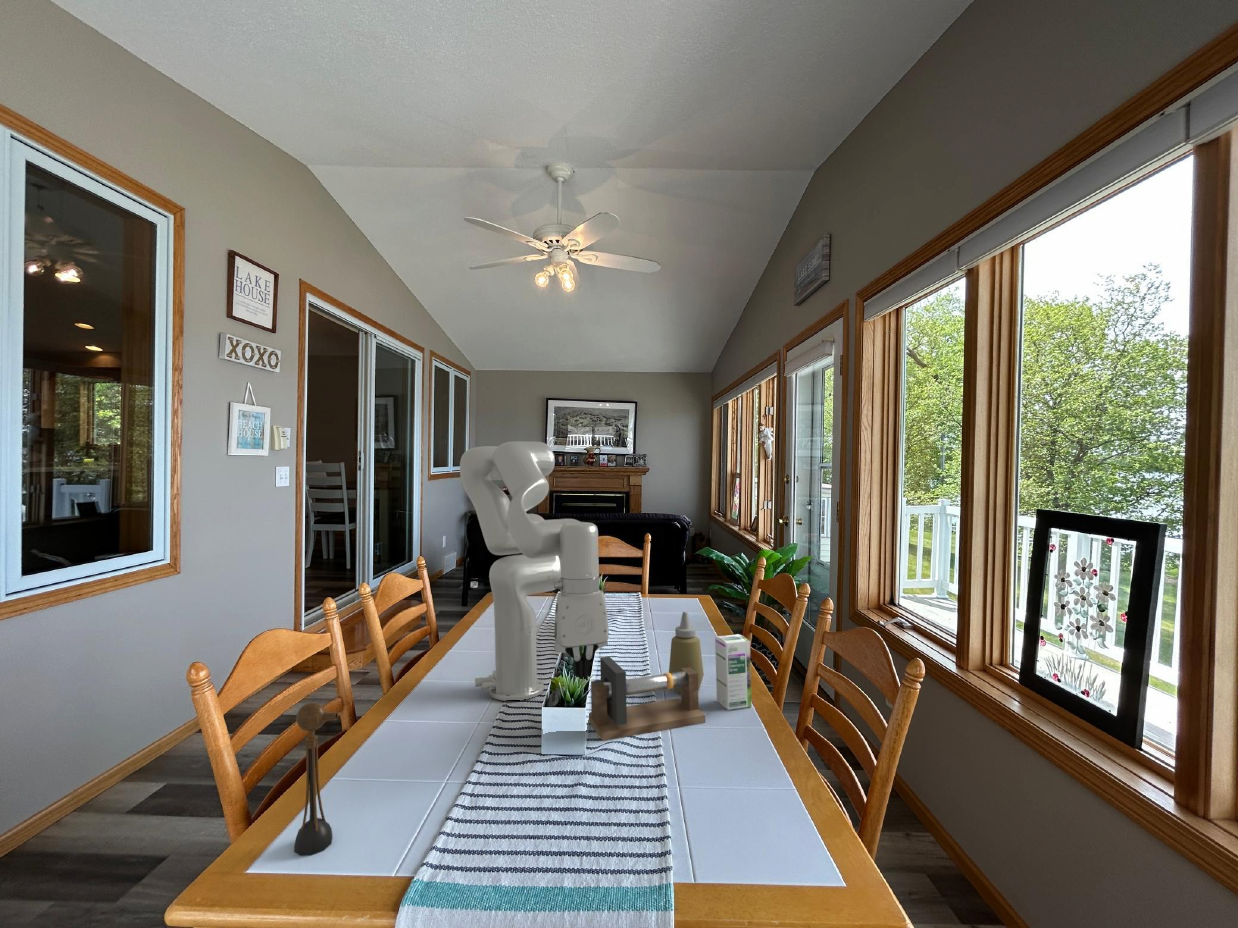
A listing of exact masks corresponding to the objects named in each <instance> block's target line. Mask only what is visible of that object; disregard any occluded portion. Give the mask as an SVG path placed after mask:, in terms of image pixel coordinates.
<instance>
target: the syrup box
mask: <svg viewBox="0 0 1238 928" xmlns="http://www.w3.org/2000/svg"><path fill="white" fill-rule="evenodd" d="M714 645H715V646H714V647H715V649H714V650H715V683H716V686H715V687H716V701H717V702H718V703H719V704H720V705H721V706H722V707H723V708H725V709H726V710H727V711H731V710H736V709H745V708H751V707H752V681H751V679H752V677H751V674H752V673H751V672H752V671H751V669H752V668H751V642H750V640H749V639H748V638H746V636H744V635H742V634H739V633H737V634H729V635H718V636H715V637H714Z"/></svg>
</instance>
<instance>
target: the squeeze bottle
mask: <svg viewBox="0 0 1238 928" xmlns="http://www.w3.org/2000/svg"><path fill="white" fill-rule="evenodd" d="M674 631H675V634H674V635H675V636H673V637H672V638H671V643H670V653H669V655H670V657H669V665H668V667H669V668H668V673H674V672H681V668H687V667H690V668H691V669H693V670H694V671H696V672H697V673H698V692H699V691H700V688H701V684H702V681H703V678H704V676H705V675H704V666H703V657H702V656H703V655H702V649H701V648H702V647H701V639H700V638H699V637H698V636H697V635H696V627H695V626H692V625H691V622H690V617H689V613H688V611H683V612H682V614H681V619H680V625H679V626H678V625H677V626H676V627H675V630H674ZM673 690H674V691H675V692H676V693H678V694H681V687H678V688H673Z"/></svg>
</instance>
